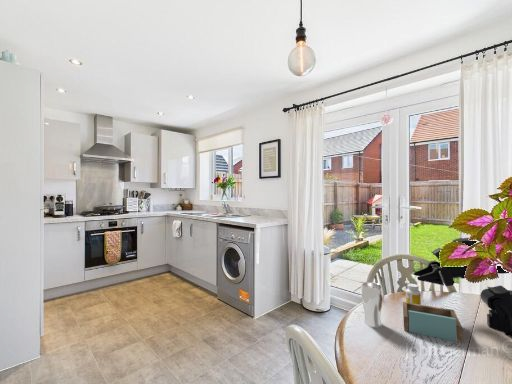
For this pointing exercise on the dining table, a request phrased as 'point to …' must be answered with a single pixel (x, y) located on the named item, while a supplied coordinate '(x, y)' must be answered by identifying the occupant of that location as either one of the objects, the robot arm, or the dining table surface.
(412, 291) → the supplement bottle
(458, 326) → the crate
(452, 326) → the panel
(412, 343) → the dining table surface
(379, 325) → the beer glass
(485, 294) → the robot arm
